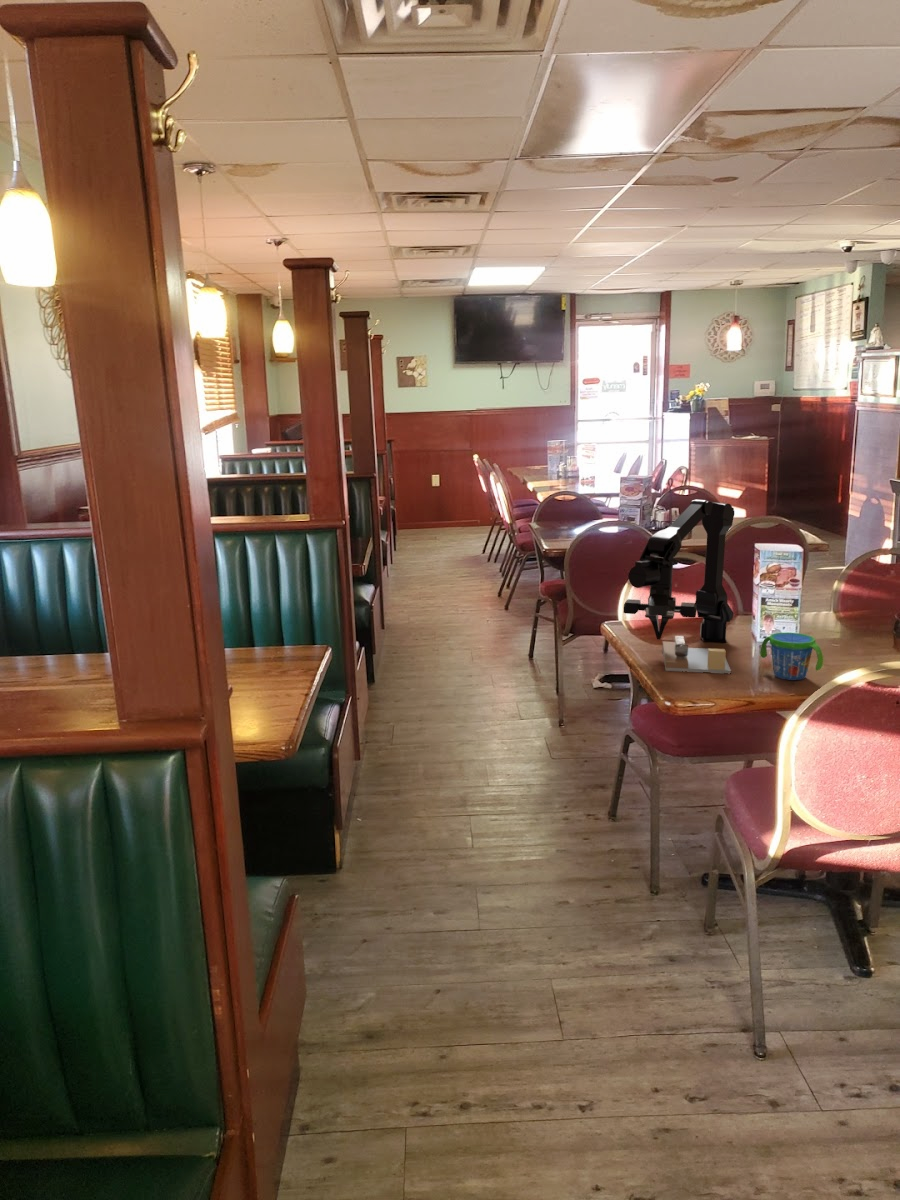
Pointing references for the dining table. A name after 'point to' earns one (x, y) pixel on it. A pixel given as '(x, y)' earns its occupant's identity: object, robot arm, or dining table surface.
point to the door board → (695, 660)
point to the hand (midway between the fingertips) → (658, 639)
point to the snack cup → (791, 654)
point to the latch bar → (680, 646)
